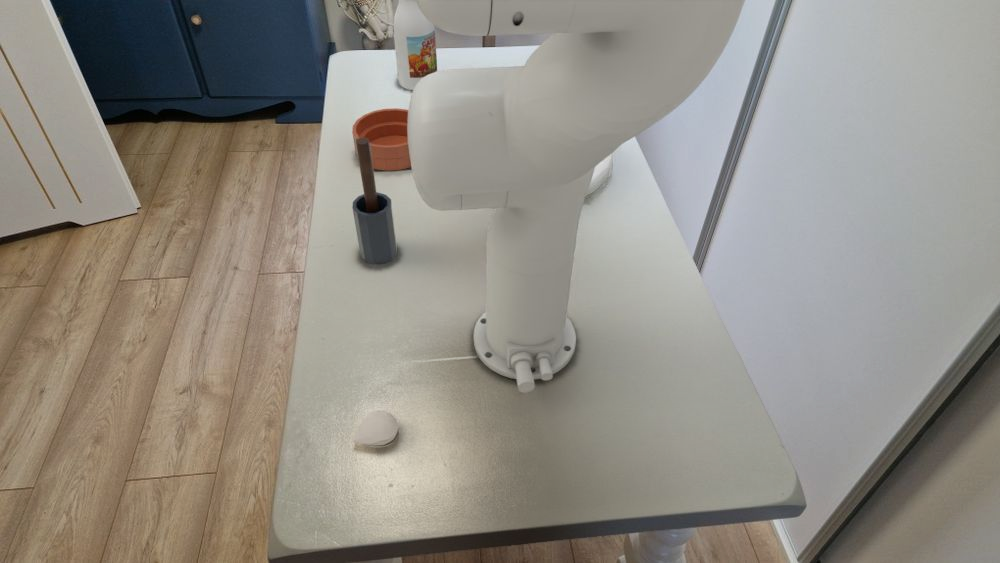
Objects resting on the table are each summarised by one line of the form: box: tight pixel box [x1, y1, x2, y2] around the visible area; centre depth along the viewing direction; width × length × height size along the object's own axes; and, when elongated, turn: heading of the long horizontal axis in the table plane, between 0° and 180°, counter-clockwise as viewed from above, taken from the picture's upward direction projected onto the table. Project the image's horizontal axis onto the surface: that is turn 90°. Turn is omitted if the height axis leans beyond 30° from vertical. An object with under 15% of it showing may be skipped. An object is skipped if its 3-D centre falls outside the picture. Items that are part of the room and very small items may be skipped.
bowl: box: [351, 107, 411, 172], centre depth 110 cm, size 12×12×5 cm
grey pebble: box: [352, 409, 400, 448], centre depth 70 cm, size 4×5×2 cm
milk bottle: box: [393, 0, 438, 91], centre depth 123 cm, size 8×8×20 cm
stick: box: [356, 138, 379, 213], centre depth 86 cm, size 2×2×18 cm
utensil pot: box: [351, 191, 398, 266], centre depth 89 cm, size 5×5×9 cm
